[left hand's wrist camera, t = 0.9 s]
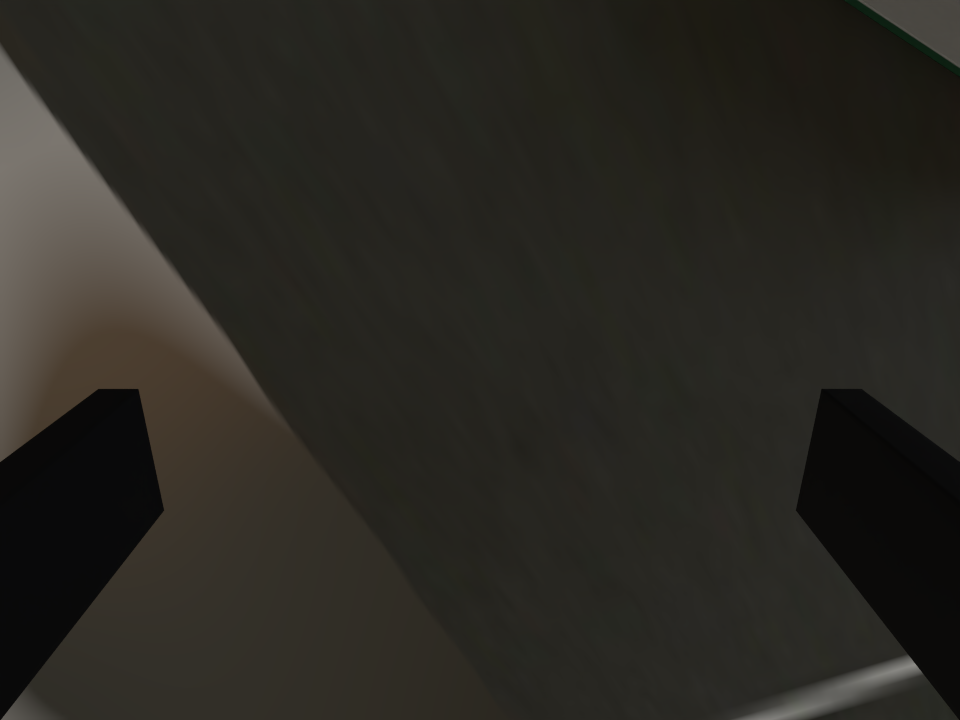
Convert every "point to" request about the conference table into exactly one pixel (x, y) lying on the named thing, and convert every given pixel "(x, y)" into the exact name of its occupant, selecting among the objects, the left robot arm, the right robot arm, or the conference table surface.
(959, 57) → the cabinet
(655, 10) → the conference table surface
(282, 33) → the conference table surface
